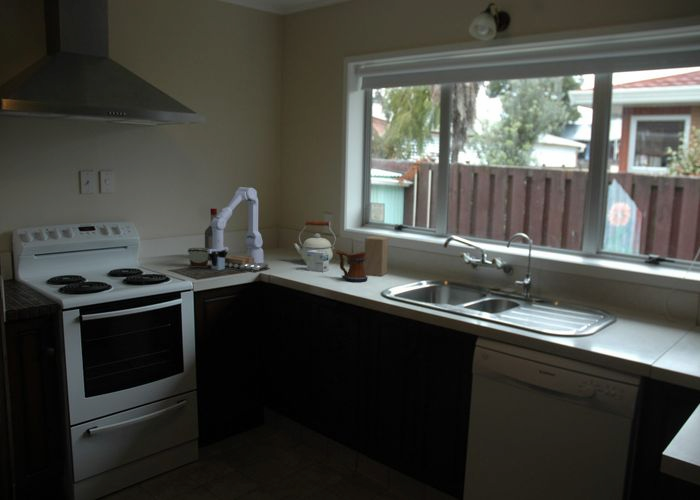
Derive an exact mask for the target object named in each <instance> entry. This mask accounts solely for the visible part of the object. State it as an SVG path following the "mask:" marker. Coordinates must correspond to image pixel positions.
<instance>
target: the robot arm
mask: <svg viewBox="0 0 700 500" xmlns="http://www.w3.org/2000/svg"><path fill="white" fill-rule="evenodd" d="M242 201H243V202H246V203H247V204H248V211H247V212H248V230H247V232H246V233H245V238H244V240H243V242H244V245H245V246H246V248H247V249H246V250H247V251H246V253H247V254H246V257H253V258H254V262H256V263H262V264H265V261H264V250H263V248H262V246H263V243H264V241H263V238H262V234H261V233H260V232H259V198H258V191H257V190H256V189H255V188H253V187H243V186H240V187H238V189H237V190H236V191H235V194H234V196H233V198H232V199H231V201H229V203H228V205H227V206H226V207H225V206H224V207H223V208H221V211H220V212H219V213H217V216H216V218H214V219H213V220H212V221H211V220H210V223H209V226H210V225H211V227H212V231H213V248H211V249H209V250H207V253H208V255H209V256H210V258H211V260H210V262H211V261H212V265H213V266H216V265H217V257H218V256H219V257H223V258H227V255H228V252H229V247H228V246H224V229H225V228H226V226H227V222H228V221H229V219H230V218H231V216H232V215H233V210H234V209H235V208H236V207H237V206H238V204H240V203H241V202H242ZM216 252H218V254H216Z"/></svg>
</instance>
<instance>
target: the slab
mask: <svg viewBox="0 0 700 500" xmlns="http://www.w3.org/2000/svg"><path fill="white" fill-rule="evenodd" d="M225 262H227V263H234V264H241V265H243V264H248V263H252V262H254V258H253V257H247V256H243V255H233V256H226V257H225Z"/></svg>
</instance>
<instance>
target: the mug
mask: <svg viewBox="0 0 700 500" xmlns="http://www.w3.org/2000/svg"><path fill="white" fill-rule="evenodd" d="M336 254H337V255H339V260H340V263H339V269H340V270H341V271H343V274H342V275H341V278H342V279H344V280H345V281H346V282H351V283H366V282H367V281H368V279H369V278H368V275H366V273H365V270H364V260H365V254H366V252H365V251H359V252H353V253H349V254H348V253H346V252H343V251H342V250H339V249H337V250H336ZM344 256H345V257H347V259H346V263H347V264H348V265H349V266H348V267H349V268H348V270H347V269H346V268H345V259H344Z"/></svg>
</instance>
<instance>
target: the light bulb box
mask: <svg viewBox="0 0 700 500" xmlns="http://www.w3.org/2000/svg"><path fill="white" fill-rule="evenodd" d="M329 267H330V261H329V251H319V250H310V251H307V264H306V271H309V272H310V271H311V272H322V273H324V272H327V271H329V270H330V269H329Z"/></svg>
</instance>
